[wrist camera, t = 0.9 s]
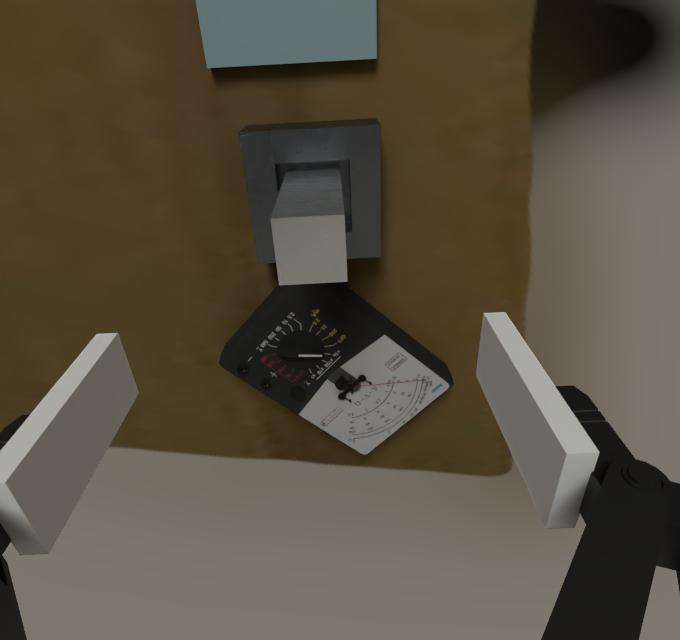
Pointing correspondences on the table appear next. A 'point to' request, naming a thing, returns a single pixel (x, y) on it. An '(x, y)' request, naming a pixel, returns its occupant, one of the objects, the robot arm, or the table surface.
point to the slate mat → (286, 31)
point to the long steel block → (310, 226)
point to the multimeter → (336, 363)
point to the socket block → (316, 149)
